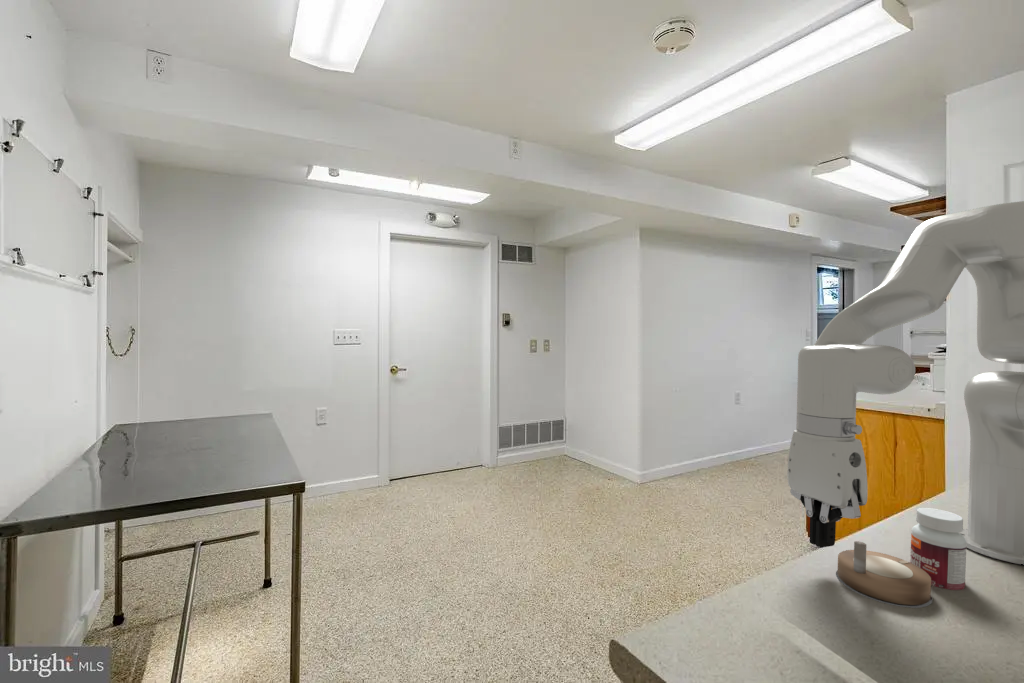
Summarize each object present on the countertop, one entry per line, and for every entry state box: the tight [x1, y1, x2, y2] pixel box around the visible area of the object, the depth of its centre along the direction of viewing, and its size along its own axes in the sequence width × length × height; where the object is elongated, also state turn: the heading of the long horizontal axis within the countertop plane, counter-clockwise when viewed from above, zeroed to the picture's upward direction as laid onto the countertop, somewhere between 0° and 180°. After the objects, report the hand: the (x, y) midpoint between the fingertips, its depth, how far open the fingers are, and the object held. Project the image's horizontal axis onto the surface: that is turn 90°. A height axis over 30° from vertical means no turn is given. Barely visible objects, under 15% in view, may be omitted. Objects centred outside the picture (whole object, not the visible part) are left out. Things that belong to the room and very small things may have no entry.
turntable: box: [837, 540, 932, 605], centre depth 68 cm, size 11×11×6 cm
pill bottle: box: [909, 507, 968, 591], centre depth 70 cm, size 6×6×11 cm
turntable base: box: [835, 569, 933, 609], centre depth 68 cm, size 11×11×2 cm
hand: (822, 544), depth 72 cm, fingers closed
